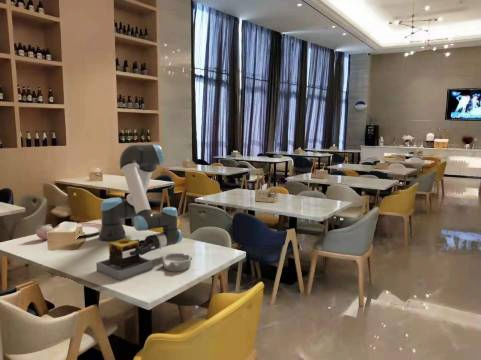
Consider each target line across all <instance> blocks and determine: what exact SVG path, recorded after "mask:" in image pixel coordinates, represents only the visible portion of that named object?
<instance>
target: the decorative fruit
mask: <svg viewBox="0 0 481 360" xmlns="http://www.w3.org/2000/svg"><path fill="white" fill-rule="evenodd" d="M51 230H53V231H54V228H53V225H52V224H49V223H45V222H44V224H43V225H42V224H41V225H38V226H36V230H35V234H36V236H37V237H38V238H39V239H41V240H45V241H46V240H48V239H47V232H49V231H51Z"/></svg>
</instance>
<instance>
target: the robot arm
mask: <svg viewBox="0 0 481 360" xmlns="http://www.w3.org/2000/svg"><path fill="white" fill-rule="evenodd" d="M164 159H165V158H164V151H163V149H162V147H161V146H160V145H159V144H153V143H152V144H131V145H129V146H126V148H125V149H123V151H122V152H121V155H120V159H119V169H120V172H121V173H123V175H124V179H125V182H126V185H127V188H128V191H129V193H128V194H127V195H126V198H125V199H122V198H121V197H110V198H106V199H104V200H102V201H101V203H100V216H101V219H100V220H101V224H102V226H101V230H100V232H98V238H99V240H100V241H104V242H115V241H118V240H122V239H126V233H127V232H126V231H125V228H124V225H123V220H125V219H133V227H134V229H135V231H138V232H141V231H146V232H147V231H148V230H154V229H162V232H161V231H160V232H157V233H154V234H150V235H147V236H146V237H144V239H141V240H139V238H138V239H134V241H138V242H139V248H136V249H132V250H128V251H125V252H122V257H123V258H126V257H130V256H133V255H139V256H143V255H146V254H147V253H149V252H152V251H155V250H156V251H157V250H162V248H165V247H166V248H167V247H168V246H172V245H173V246H174V245H176V244H179V243H180V242H182V240H183V237H184V236H183V234H182V230H180V229H179V228H178V210H177V208H176V207H173V206H166V207H163V208H162V210H161V212H156V213H153V212H152V208H151V206H150V203H149V199H148V196H147V192H148V188H149V185H150V182H151V178H152V176H153V175H152V174H153V173H154V172H156V170H157V169H158V166H162V165H163V164H164V162H165V160H164ZM108 253H109V254H110V252H109V251H108Z"/></svg>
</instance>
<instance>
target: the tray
mask: <svg viewBox="0 0 481 360" xmlns="http://www.w3.org/2000/svg"><path fill="white" fill-rule="evenodd" d="M109 261H110V260H109V258H107V259H103V260H100V261H97V262H95V263H96V266H95V267H96V272H98V273H100V274H103V275H105V276H107V277H110V278H112V279H114V280H117V281H118V282H119V281H122V280H126V279H128V278H131V277H134V276H137V275H139V274H144V273H147V272H149V271H151V270H153V260H150V259H147V258H144V257H141V256H140V259H139V262H138V263H135V264H133V265H130V266H127V267H123V268H121V267H119V266H115V265H113V264H110V263H109Z"/></svg>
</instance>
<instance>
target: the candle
mask: <svg viewBox="0 0 481 360" xmlns="http://www.w3.org/2000/svg"><path fill="white" fill-rule="evenodd" d="M134 240H135V239H134ZM134 240H133V239H131V238H126V237H125V238H123V239H120V240H116V241H110V242H109V243H108V253H109V252H110V253H109V255H108V259H109V260H110V261H109V263H110V264H113V265H115V266H119V267H121V268H123V267H127V266H130V265H133V264H135V263H138V262H139V259H140V257H141V255H140V254H139V255H133V256H130V257H126V258H123V257H122V252H125V251H128V250H132V249H136V248H139V242H138V241H134Z"/></svg>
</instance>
